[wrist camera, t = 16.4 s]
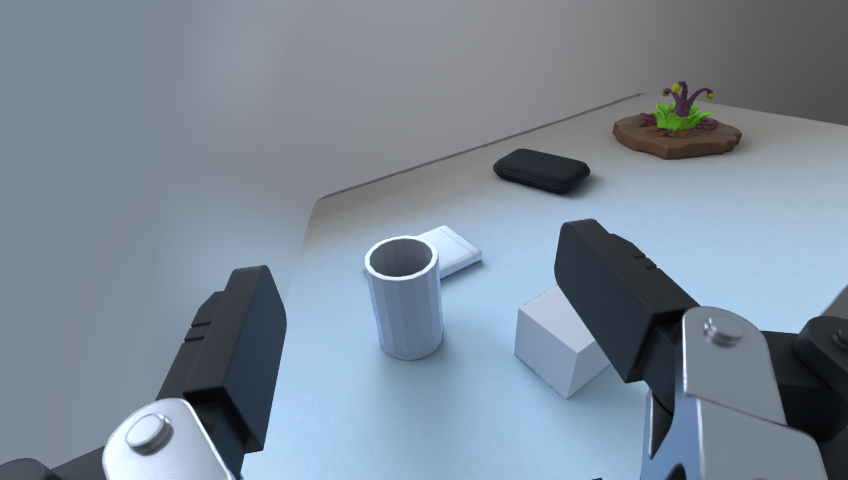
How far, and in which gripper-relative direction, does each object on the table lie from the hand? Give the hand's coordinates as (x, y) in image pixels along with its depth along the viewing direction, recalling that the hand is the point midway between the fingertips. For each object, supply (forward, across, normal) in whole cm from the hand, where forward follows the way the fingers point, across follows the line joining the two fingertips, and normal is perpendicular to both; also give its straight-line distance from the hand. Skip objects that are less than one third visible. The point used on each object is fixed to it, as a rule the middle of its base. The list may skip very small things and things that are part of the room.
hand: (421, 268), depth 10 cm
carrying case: (+49, -27, +23) cm, 60 cm away
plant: (+57, -57, +23) cm, 84 cm away
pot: (+18, 0, +23) cm, 29 cm away
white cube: (+12, -13, +23) cm, 29 cm away
